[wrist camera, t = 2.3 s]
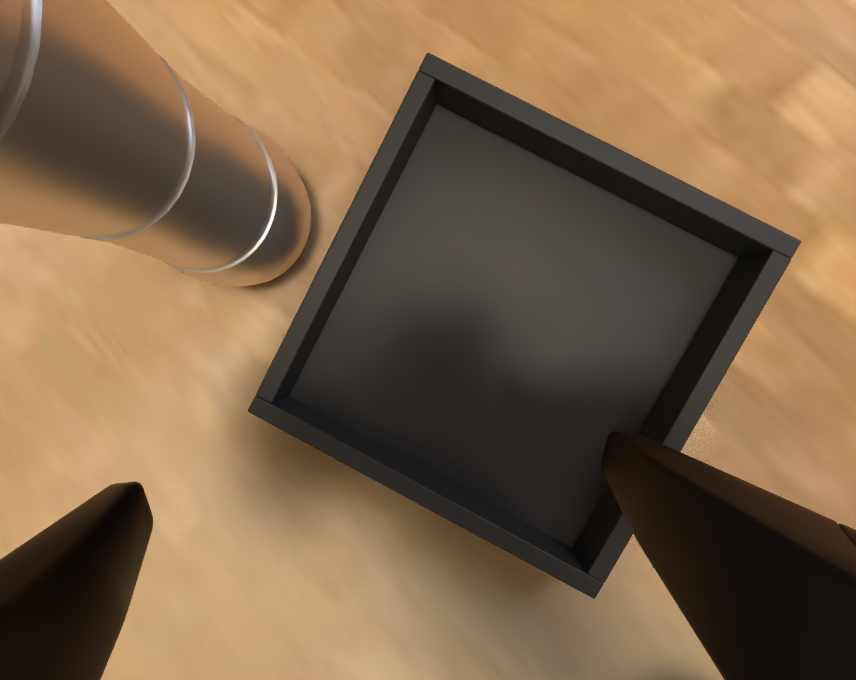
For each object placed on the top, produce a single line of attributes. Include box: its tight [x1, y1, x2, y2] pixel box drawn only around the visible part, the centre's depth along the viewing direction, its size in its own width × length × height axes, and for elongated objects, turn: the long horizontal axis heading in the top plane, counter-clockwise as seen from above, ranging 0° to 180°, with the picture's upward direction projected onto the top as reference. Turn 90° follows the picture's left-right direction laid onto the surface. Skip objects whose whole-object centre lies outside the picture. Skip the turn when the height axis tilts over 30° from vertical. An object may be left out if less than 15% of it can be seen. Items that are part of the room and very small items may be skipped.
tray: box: [248, 53, 801, 599], centre depth 18 cm, size 17×17×2 cm
